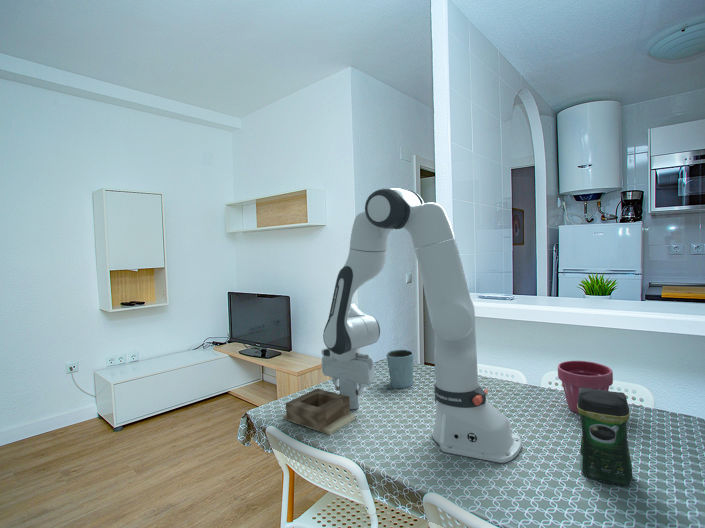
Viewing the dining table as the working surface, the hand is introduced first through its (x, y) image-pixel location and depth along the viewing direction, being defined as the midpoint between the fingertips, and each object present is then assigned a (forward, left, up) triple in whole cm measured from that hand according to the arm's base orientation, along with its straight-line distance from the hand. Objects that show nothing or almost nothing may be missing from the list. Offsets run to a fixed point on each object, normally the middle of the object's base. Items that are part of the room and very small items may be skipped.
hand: (348, 392), depth 127 cm
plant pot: (-63, -35, -5) cm, 72 cm away
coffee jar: (-71, -1, -5) cm, 71 cm away
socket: (+3, +12, -5) cm, 13 cm away
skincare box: (0, 0, -5) cm, 5 cm away
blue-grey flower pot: (-4, -26, -5) cm, 27 cm away
